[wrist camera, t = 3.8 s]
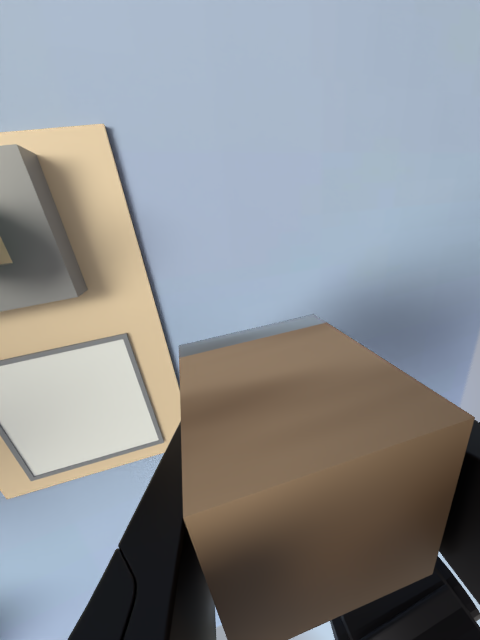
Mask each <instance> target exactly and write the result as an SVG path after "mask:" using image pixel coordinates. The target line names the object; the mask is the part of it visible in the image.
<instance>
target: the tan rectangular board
mask: <svg viewBox="0 0 480 640" xmlns="http://www.w3.org/2000/svg"><path fill="white" fill-rule="evenodd" d="M13 144H17V145H19V146H21V147H23V148H25V149H27V150H29V151H31V152H33V153H35V154H36V155H37V157H38V160H39V163H40V165H41V168H42V171H43V173H44V176H45V178H46V181H47V184H48V186H49V189H50V192H51V194H52V197H53V199H54V202H55V205H56V207H57V210H58V212H59V215H60V218H61V220H62V223H63V226H64V228H65V231H66V233H67V236H68V239H69V241H70V244H71V246H72V249H73V252H74V254H75V257H76V260H77V262H78V265H79V267H80V270H81V273H82V275H83V278H84V281H85V283H86V286H87V288H88V290H87V291H86V292H84V293H83V294H81V295H80V296H79V297H75V298H70V299H65V300H59V301H54V302H49V303H44V304H38V305H33V306H28V307H22V308H17V309H12V310H6V311H1V312H0V491H1V492H2V493H3V495H4V496H5V497H6V499H10V498H13V497H17V496H20V495H23V494H27V493H30V492H34V491H37V490H40V489H44V488H47V487H50V486H54V485H57V484H60V483H64V482H67V481H71V480H74V479H77V478H81V477H84V476H87V475H91V474H94V473H97V472H101V471H104V470H107V469H111V468H114V467H118V466H121V465H124V464H128V463H131V462H134V461H138V460H141V459H144V458H148V457H151V456H155V455H158V454H161V453H165V451H166V449H167V447H168V445H169V443H170V441H171V439H172V437H173V435H174V433H175V431H176V429H177V427H178V425H179V423H180V421H181V409H180V388H179V385H178V381H177V378H176V374H175V371H174V367H173V364H172V360H171V357H170V353H169V350H168V346H167V343H166V339H165V336H164V332H163V329H162V325H161V321H160V318H159V314H158V311H157V307H156V304H155V300H154V297H153V293H152V290H151V286H150V283H149V279H148V276H147V272H146V269H145V265H144V262H143V258H142V255H141V251H140V248H139V244H138V240H137V237H136V233H135V230H134V226H133V223H132V219H131V216H130V212H129V209H128V205H127V202H126V198H125V195H124V191H123V188H122V184H121V181H120V177H119V174H118V170H117V167H116V163H115V159H114V156H113V152H112V149H111V145H110V142H109V138H108V135H107V131H106V128H105V125H104V124H95V125H83V126H71V127H59V128H48V129H36V130H24V131H12V132H0V146H2V145H13ZM6 263H12V260H11V258H10V256H9V254H8V252H7V249H6V247H5V245H4V243H3V241H2V239H1V237H0V264H6Z"/></svg>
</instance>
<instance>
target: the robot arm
mask: <svg viewBox="0 0 480 640" xmlns="http://www.w3.org/2000/svg"><path fill="white" fill-rule="evenodd" d="M118 547H119V549H116V550H115V552H114V554H113V556H112V558H111V560H110V562H109V564H108V566H107V568H106V570H105V572H104V574H103V576H102V578H101V580H100V582H99V584H98V585H97V587H96V589H95V591H94V593H93V595H92V597H91V599H90V601H89V603H88V604H87V606H86V608H85V610H84V612H83V613H82V615H81V617H80V619H79V620H78V622H77V624H76V626H75V627H74V629H73V631H72V633H71V634H70V636H69V638H68V640H216V622H215V604H214V601H213V598H212V596H211V593H210V590H209V587H208V585H207V582H206V579H205V576H204V574H203V571H202V568H201V565H200V563H199V560H198V557H197V554H196V552H195V549H194V546H193V543H192V541H191V538H190V535H189V532H188V530H187V527H186V524H185V522H184V519H183V492H182V451H181V421H180V423H179V425H178V427H177V429H176V431H175V433H174V435H173V437H172V439H171V441H170V443H169V445H168V447H167V449H166V451H165V453H164V455H163V457H162V459H161V461H160V463H159V465H158V467H157V469H156V471H155V473H154V475H153V477H152V479H151V481H150V483H149V485H148V487H147V489H146V491H145V493H144V495H143V497H142V499H141V501H140V503H139V505H138V507H137V509H136V511H135V513H134V515H133V517H132V519H131V521H130V523H129V525H128V527H127V529H126V531H125V533H124V535H123V537H122V539H121V541H120V543H119V545H118ZM439 552H440V553H441V554H442V556H443V557H444V558H445V560H446V561H447V562H448V564H449V565H450V566H451V567H452V569H453V570H454V571H455V573H456V574H457V575H458V577H459V578H460V579H461V581H462V582H463V583H464V585H465V586H466V587H467V589H468V590H469V591H470V593H471V594H472V595H473V597H474V598H475V599H476V600H477V602H478V603H479V604H480V422H479V423H478V422H477V421H476V420H474V422H473V426H472V430H471V433H470V437H469V441H468V445H467V448H466V452H465V456H464V459H463V463H462V467H461V470H460V474H459V478H458V482H457V485H456V489H455V493H454V496H453V500H452V504H451V507H450V511H449V515H448V519H447V522H446V526H445V530H444V533H443V537H442V541H441V545H440V548H439ZM479 619H480V613H479V611H478V609H477V608H476V606H475V604H474V603H473V601H472V600H471V599H470V597H469V596H468V594H467V593H466V591H465V590H464V589H463V587H462V586H461V584H460V583H459V582H458V581H457V579H456V578H455V577H454V575H453V574H452V573H451V571H450V570H449V569H448V568H447V566H446V565H445V564H444V563H443V562H442V560H441V559H440V558H439V557H438V556H437V559H436V563H435V567H434V570H433V574H432V575H430V576H427V577H425V578H423V579H421V580H418V581H416V582H414V583H412V584H410V585H407V586H405V587H403V588H401V589H399V590H396V591H394V592H392V593H390V594H388V595H385V596H383V597H381V598H379V599H377V600H374V601H372V602H370V603H368V604H366V605H363V606H361V607H359V608H357V609H355V610H352V611H350V612H348V613H346V614H344V615H341V616H339V617H337V618H335V619H333V620H330V622H331V626H332V630H333V634H334V638H335V640H480V627H479V625H478V624H477V623H476V621H477V620H479Z"/></svg>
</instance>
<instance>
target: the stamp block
mask: <svg viewBox="0 0 480 640" xmlns="http://www.w3.org/2000/svg"><path fill="white" fill-rule="evenodd" d="M179 368H180V409H181V451H182V492H183V519H184V522H185V524H186V527H187V530H188V532H189V535H190V538H191V541H192V543H193V546H194V549H195V552H196V554H197V557H198V560H199V563H200V565H201V568H202V571H203V574H204V576H205V579H206V582H207V585H208V587H209V590H210V593H211V596H212V598H213V601H214V604H215V607H216V609H217V612H218V615H219V618H220V620H221V623H222V626H223V628H224V631H225V634H226V637H227V639H228V640H288V639H291V638H293V637H295V636H297V635H299V634H302V633H303V632H306V631H308V630H310V629H313V628H315V627H317V626H319V625H321V624H324V623H326V622H328V621H330V620H333V619H335V618H337V617H339V616H341V615H344V614H346V613H348V612H350V611H352V610H355V609H357V608H359V607H361V606H363V605H366V604H368V603H370V602H372V601H374V600H377V599H379V598H381V597H383V596H385V595H388V594H390V593H392V592H394V591H396V590H399V589H401V588H403V587H405V586H407V585H410V584H412V583H414V582H416V581H418V580H421V579H423V578H425V577H427V576H430V575H432V574H433V570H434V567H435V563H436V559H437V556H438V552H439V548H440V545H441V541H442V537H443V533H444V530H445V526H446V522H447V519H448V515H449V511H450V507H451V504H452V500H453V496H454V493H455V489H456V485H457V482H458V478H459V474H460V470H461V467H462V463H463V459H464V456H465V452H466V448H467V445H468V441H469V437H470V433H471V430H472V426H473V422H474V419H475V417H473V416H472V415H470V414H469V413H467V412H465V411H464V410H462V409H461V408H459V407H458V406H456V405H455V404H453V403H452V402H450V401H448V400H447V399H445V398H444V397H442V396H441V395H439V394H437V393H436V392H434V391H433V390H431V389H430V388H428V387H427V386H425V385H423V384H422V383H420V382H419V381H417V380H416V379H414V378H413V377H411V376H409V375H408V374H406V373H405V372H403V371H402V370H400V369H398V368H397V367H395V366H394V365H392V364H391V363H389V362H388V361H386V360H384V359H383V358H381V357H380V356H378V355H377V354H375V353H373V352H372V351H370V350H369V349H367V348H366V347H364V346H363V345H361V344H359V343H358V342H356V341H355V340H353V339H352V338H350V337H349V336H347V335H345V334H344V333H342V332H341V331H339V330H338V329H336V328H334V327H333V326H331V325H330V324H328V323H327V322H325V321H324V320H322V319H320V318H319V317H317V316H316V315H314V314H312V315H308V316H304V317H299V318H295V319H291V320H287V321H282V322H278V323H274V324H269V325H265V326H261V327H256V328H252V329H248V330H243V331H239V332H235V333H231V334H226V335H222V336H218V337H213V338H209V339H205V340H200V341H196V342H192V343H187V344H183V345H179Z"/></svg>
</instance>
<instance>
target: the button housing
mask: <svg viewBox="0 0 480 640" xmlns="http://www.w3.org/2000/svg"><path fill="white" fill-rule="evenodd" d="M0 237H1V239H2V241H3V243H4V245H5V247H6V249H7V252H8V254H9V256H10V258H11V260H12V263H6V264H0V312H1V311H6V310H12V309H17V308H22V307H28V306H33V305H38V304H44V303H49V302H54V301H59V300H65V299H70V298H75V297H79V296H80V295H81V294H83V293H84V292H86V291H87V290H88V288H87V286H86V283H85V281H84V278H83V275H82V273H81V270H80V267H79V265H78V262H77V260H76V257H75V254H74V252H73V249H72V246H71V244H70V241H69V239H68V236H67V233H66V231H65V228H64V226H63V223H62V220H61V218H60V215H59V212H58V210H57V207H56V205H55V202H54V199H53V197H52V194H51V192H50V189H49V186H48V184H47V181H46V178H45V176H44V173H43V171H42V168H41V165H40V163H39V160H38V157H37V155H36V154H35V153H33V152H31V151H29V150H27V149H25V148H23V147H21V146H19V145H17V144H13V145H2V146H0Z"/></svg>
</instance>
